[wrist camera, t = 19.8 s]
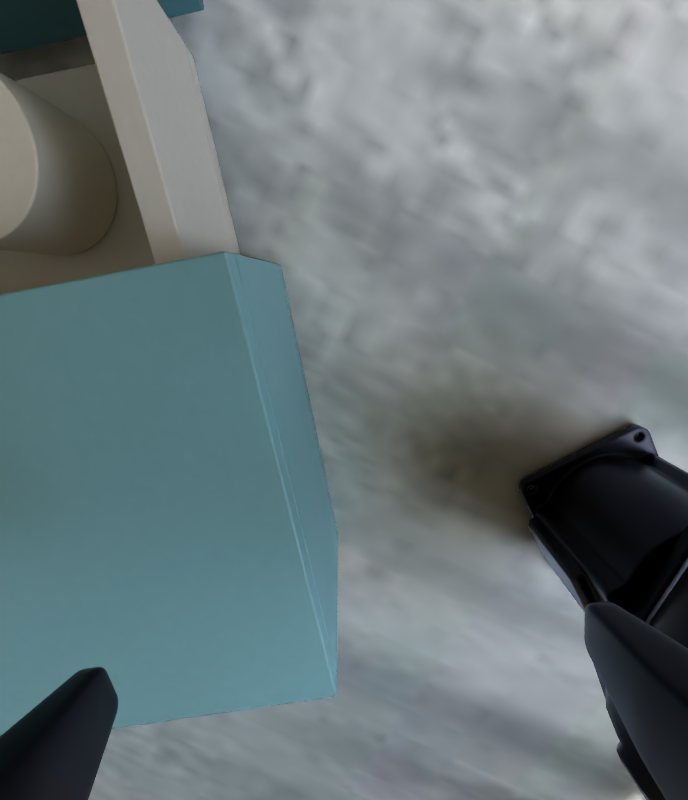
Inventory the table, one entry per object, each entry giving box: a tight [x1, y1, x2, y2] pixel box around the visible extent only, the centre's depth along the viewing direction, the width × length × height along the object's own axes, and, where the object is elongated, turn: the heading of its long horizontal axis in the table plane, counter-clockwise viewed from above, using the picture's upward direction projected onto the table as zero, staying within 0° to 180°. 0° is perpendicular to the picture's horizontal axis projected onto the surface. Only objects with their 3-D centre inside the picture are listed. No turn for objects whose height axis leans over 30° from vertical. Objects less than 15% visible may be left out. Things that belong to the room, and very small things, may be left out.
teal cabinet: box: [0, 251, 338, 736], centre depth 15 cm, size 14×15×9 cm
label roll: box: [0, 73, 117, 255], centre depth 12 cm, size 5×5×4 cm
